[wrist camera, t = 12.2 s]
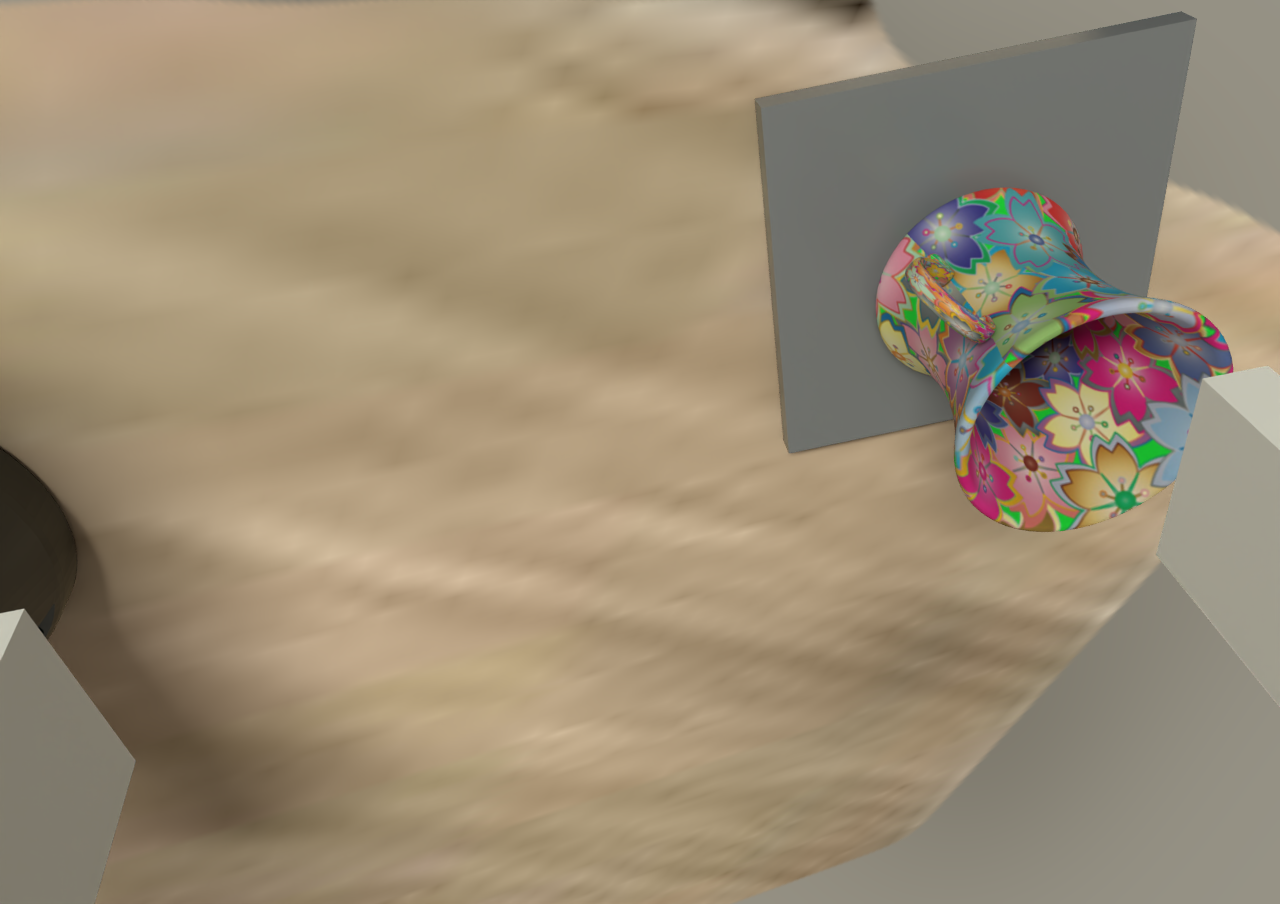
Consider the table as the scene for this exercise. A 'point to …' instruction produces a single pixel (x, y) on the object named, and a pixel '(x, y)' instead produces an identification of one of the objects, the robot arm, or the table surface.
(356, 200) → the table surface
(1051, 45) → the slate board
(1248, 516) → the robot arm
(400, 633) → the table surface
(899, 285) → the mug
